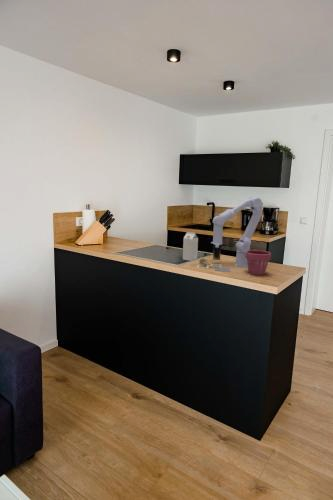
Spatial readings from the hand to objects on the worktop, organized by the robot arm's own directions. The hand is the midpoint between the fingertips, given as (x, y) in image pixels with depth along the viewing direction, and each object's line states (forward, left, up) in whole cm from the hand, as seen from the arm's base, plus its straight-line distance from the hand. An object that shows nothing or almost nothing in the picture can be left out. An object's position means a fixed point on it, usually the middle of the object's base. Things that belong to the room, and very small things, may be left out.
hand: (216, 256), depth 215 cm
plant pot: (-24, +12, -6) cm, 27 cm away
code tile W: (0, 0, -6) cm, 6 cm away
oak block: (+8, +5, -6) cm, 11 cm away
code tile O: (+8, +5, -6) cm, 11 cm away
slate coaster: (-4, +10, -6) cm, 12 cm away
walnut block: (0, 0, -1) cm, 1 cm away
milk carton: (+18, -13, -6) cm, 23 cm away
